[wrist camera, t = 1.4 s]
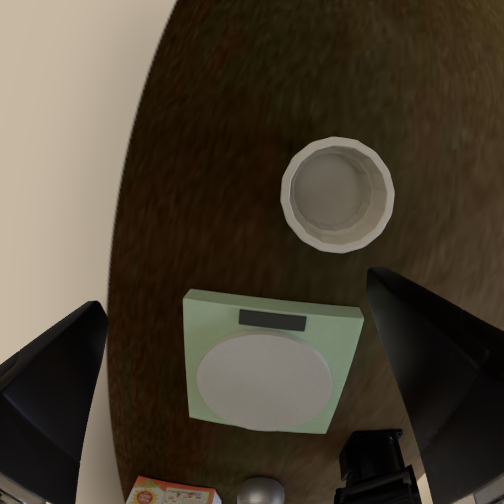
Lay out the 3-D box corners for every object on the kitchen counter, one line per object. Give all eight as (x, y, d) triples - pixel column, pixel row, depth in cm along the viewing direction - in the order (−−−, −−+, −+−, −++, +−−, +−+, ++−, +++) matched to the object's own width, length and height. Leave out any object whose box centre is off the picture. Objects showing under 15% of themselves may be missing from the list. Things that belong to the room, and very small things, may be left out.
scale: (359, 307, 23) (366, 323, 20) (324, 420, 27) (326, 439, 24) (190, 288, 24) (179, 302, 21) (194, 404, 28) (187, 422, 26)
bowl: (375, 151, 19) (399, 148, 15) (364, 238, 21) (384, 258, 16) (286, 139, 20) (286, 130, 15) (278, 228, 22) (275, 246, 17)
